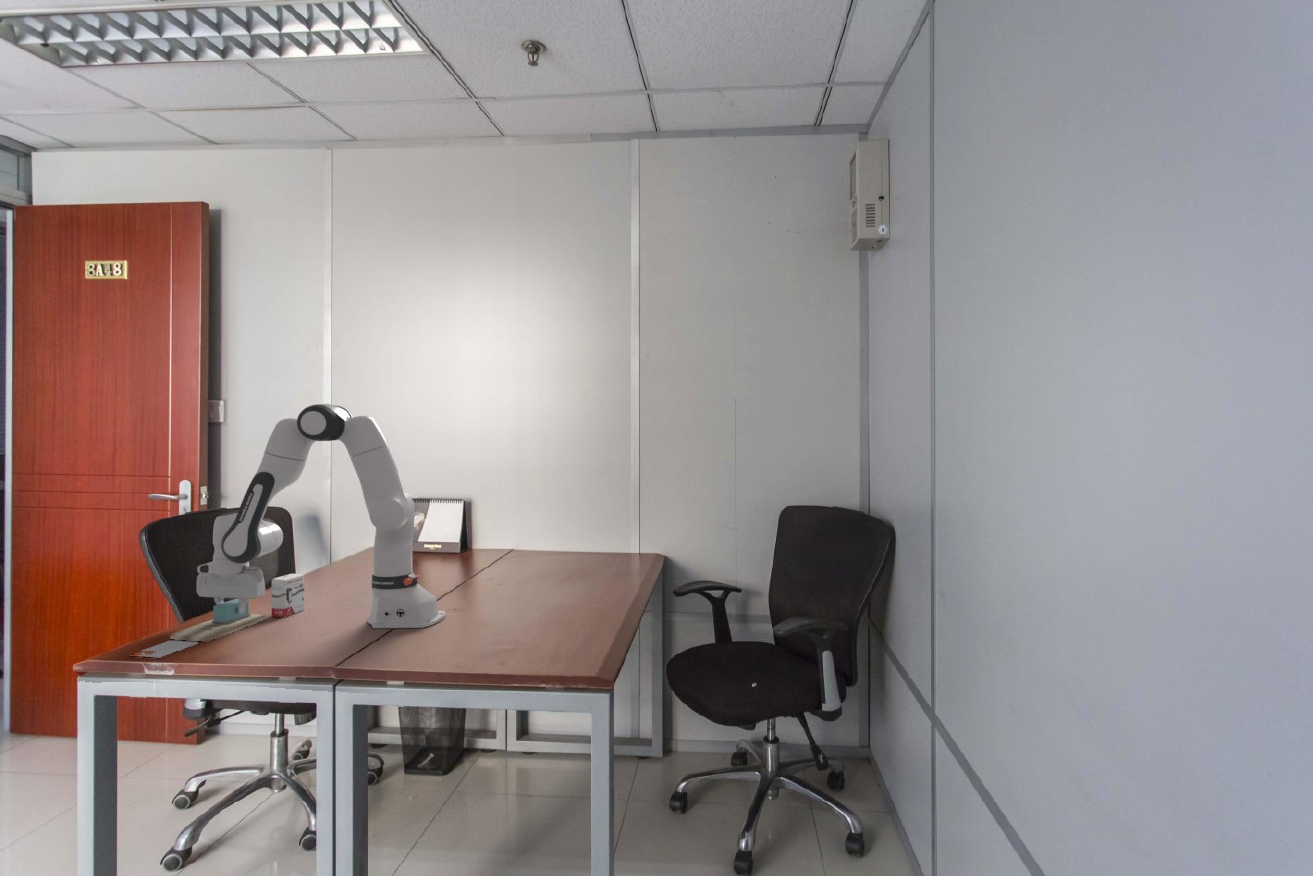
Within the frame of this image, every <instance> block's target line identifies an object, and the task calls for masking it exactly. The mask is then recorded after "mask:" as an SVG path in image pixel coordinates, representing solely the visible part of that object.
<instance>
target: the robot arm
mask: <svg viewBox="0 0 1313 876" xmlns="http://www.w3.org/2000/svg"><path fill="white" fill-rule="evenodd" d="M332 441H333V442H334V441H340V442H341V443H342V444H343V445H344V446H345V448H346V450H347V453H348V457H349V458H350V460H351V463H352V465H353V466H352V467H353V468H354V470H355V473H356V475H357V478H358V480H359V484H360V486H361V490H362V495H363V498H364V502H365V503H364V504H365V506H366V510H367V513H368V516H369V520H370V523H371V524H372V525H373V527H374V528H375V533H374V534H375V536H374V544H373V549H372V550H373V552H372V553H373V554H372V557H373V558H372V559H373V574H372V575H371V588H372V597H371V604H370V605H371V606H370V610H369V615H368V618H367V623H368V624H370V625H371V627H372V629H412V628H413V629H420V628H421V629H424V628H427V627H431V626H432V625H435V624H437V623H439V622H441V621H443V619H445V618H446V611H443V610H439V607H438V606H439V605H438V601H437V598H436V596H435V595H434V594H432V593H430V591H428V590H427V589H425V588H424V587H423V586H421V585H420V584H419V581H418V579H420V578H421V573H419V574H417V575H416V573H415V572H414V570H413V543H414V542H413V541H414V529H415V511H416V510H415V503H414V500H413V497H412V496H410V494H409V493H407V492H405V491H404V490H403V486H402V483H401V480H400V479H401V478H400V475H399V470H398V467H397V464H396V463H395V460H394V457H393V455H392V453H391V450H390V447H389V445H388V442H387V439H386V437H385V436H384V434H383V432H382V430H381V428H380V427H379V425H378V424H377V422H376V421H375V419H374V418H373V417H370V416H367V415H357V416H353V415H352V414H351V412H350V411H349V410H347V408H345V407H343V406H340V405H335V404H330V403H321V404H317V403H316V404H313V405H309V406H307V407H305V408H303V409H302V410H301V411H300V412H299V414H298V416H297V418H292V417H291V418H290V417H289V418H284V419H281V420H279V421H278V422H277V423H276V424H275V426H274V428H273V430H272V432H271V434H270V436H269V438H268V440H267V444H266V447H265V449H264V452H263V455H262V459H261V460H260V461H261V462H260V464H259V467H258V468H257V471H256V473H255V474H254V476H253V477H252V480H251V481H250V483H249V485H248V487H247V489H246V491H245V494H244V496H243V499H242V500H241V504H240V505H239V506H240V507H239V509H238V510H237V511H231V512H226V513H221V514H220V515H218V516H217V517H216V518H215V520H214V523H213V529H212V544H213V547H214V551H213V556H212V561H210V562H207V563H204V564H200V565H198V566H197V568H196V570H197V573H198V574H197V576H196V577H197V578H196V593H197V595H198V597H204V598H213V599H214V600H213V601H214V603H215V605H217V604H221V603H224V602H225V601H224V599H225V598H226V599H239V602H240V604H239V606H238V607H236V613H243V612H244V611H245V605H246V604H247V602H248V603H249V600H257V599H261V598H263V597H264V596H265V594H266V584H265V578H264V571H263V570H262V569H260V567H258V566H250V561H253V560H254V559H256V558H259V557H263V556H265V555H267V554H268V555H269V554H271V553H273V552H274V551H276V550H278V549H279V548H280V547H281V546H282V544H283V543H284V532H283V531H284V530H283V529H282V528H281V527H280V525H278V524H277V523H275V522H272V521H266V520H263V519H264V517H265V514H266V511H267V509H268V507H269V504H270V502H271V501H272V500H273V498H274V497H275V496H276V495H277V494H278V493H280V492H281V491H283V490H284V489H285V488H287V487H289V486H291V485H292V484H294V483H295V482H297V481H298V480H299V479H300V477H301V475H302V474H303V471H304V469H305V467H306V464H307V459H308V456H309V453H310V449H311V447H312V446H313V444H314V443H315V442H332Z"/></svg>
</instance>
